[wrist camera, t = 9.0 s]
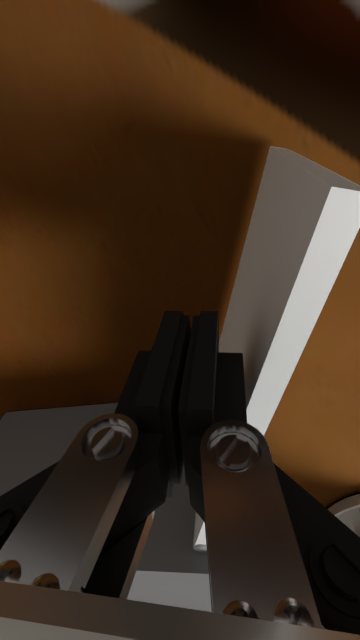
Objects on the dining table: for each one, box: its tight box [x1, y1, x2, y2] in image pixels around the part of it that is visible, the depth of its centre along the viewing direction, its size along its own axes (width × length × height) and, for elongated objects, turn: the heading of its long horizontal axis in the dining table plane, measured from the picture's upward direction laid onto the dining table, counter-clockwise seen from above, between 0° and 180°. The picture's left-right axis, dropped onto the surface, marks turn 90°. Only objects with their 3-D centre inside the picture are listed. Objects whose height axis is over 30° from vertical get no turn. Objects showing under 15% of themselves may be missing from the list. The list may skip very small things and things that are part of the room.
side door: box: [193, 146, 360, 553], centre depth 14 cm, size 16×2×9 cm, turn 172°
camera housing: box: [0, 403, 212, 612], centre depth 24 cm, size 21×12×12 cm, turn 104°
